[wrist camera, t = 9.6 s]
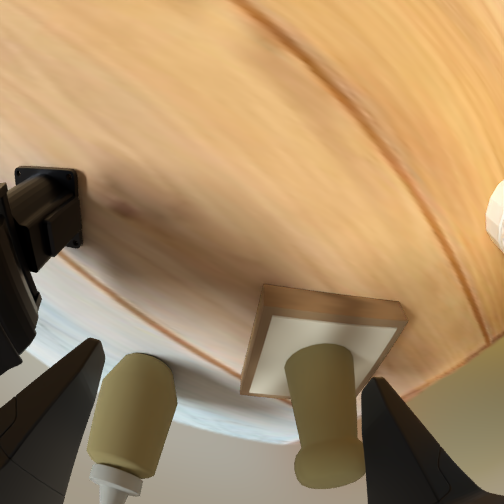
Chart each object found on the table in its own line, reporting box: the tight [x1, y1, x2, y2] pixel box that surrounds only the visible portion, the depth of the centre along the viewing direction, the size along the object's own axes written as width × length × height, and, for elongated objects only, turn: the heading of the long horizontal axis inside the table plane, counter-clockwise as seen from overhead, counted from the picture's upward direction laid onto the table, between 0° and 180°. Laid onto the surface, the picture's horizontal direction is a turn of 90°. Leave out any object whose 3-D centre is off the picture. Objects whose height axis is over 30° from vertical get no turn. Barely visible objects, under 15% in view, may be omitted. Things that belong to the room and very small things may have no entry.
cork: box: [284, 343, 366, 489], centre depth 20 cm, size 6×6×11 cm
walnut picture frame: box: [240, 284, 408, 399], centre depth 26 cm, size 12×12×3 cm
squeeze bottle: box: [87, 353, 178, 504], centre depth 22 cm, size 8×8×18 cm
